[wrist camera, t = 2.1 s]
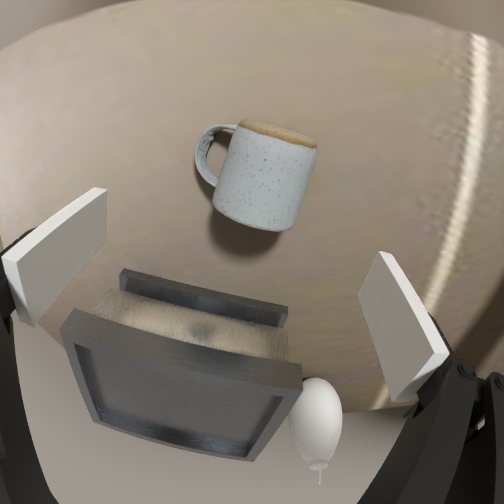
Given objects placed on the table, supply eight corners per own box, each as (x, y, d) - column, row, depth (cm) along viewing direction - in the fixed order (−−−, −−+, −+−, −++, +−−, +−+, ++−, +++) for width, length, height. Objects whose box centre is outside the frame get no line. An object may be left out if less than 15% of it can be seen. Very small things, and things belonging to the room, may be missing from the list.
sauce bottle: (284, 370, 43) (284, 480, 27) (335, 362, 41) (351, 472, 26) (291, 397, 46) (292, 493, 31) (337, 390, 45) (349, 486, 29)
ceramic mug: (316, 134, 27) (329, 146, 20) (291, 210, 31) (295, 244, 24) (208, 106, 26) (185, 108, 19) (191, 183, 30) (167, 210, 23)
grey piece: (296, 282, 35) (306, 391, 22) (260, 372, 43) (255, 462, 30) (124, 242, 34) (56, 327, 20) (127, 340, 42) (91, 420, 29)
